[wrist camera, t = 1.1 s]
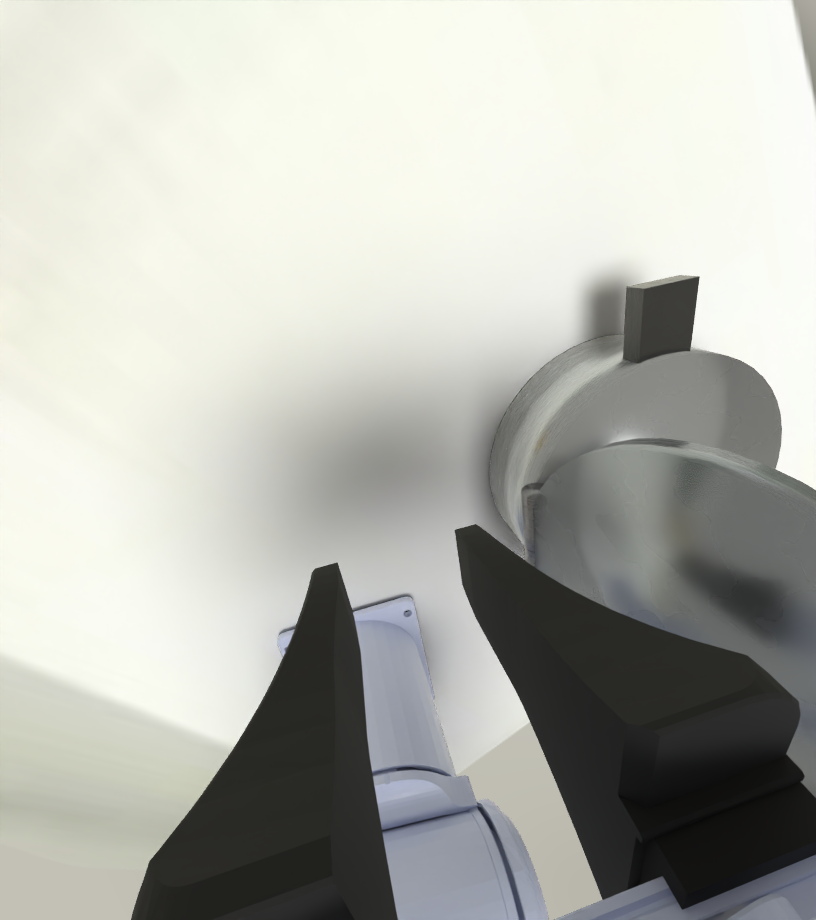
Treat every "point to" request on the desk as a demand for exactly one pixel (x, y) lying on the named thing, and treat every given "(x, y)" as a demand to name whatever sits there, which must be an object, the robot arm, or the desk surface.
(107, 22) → the desk surface
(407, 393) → the desk surface
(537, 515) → the lid
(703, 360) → the pot
